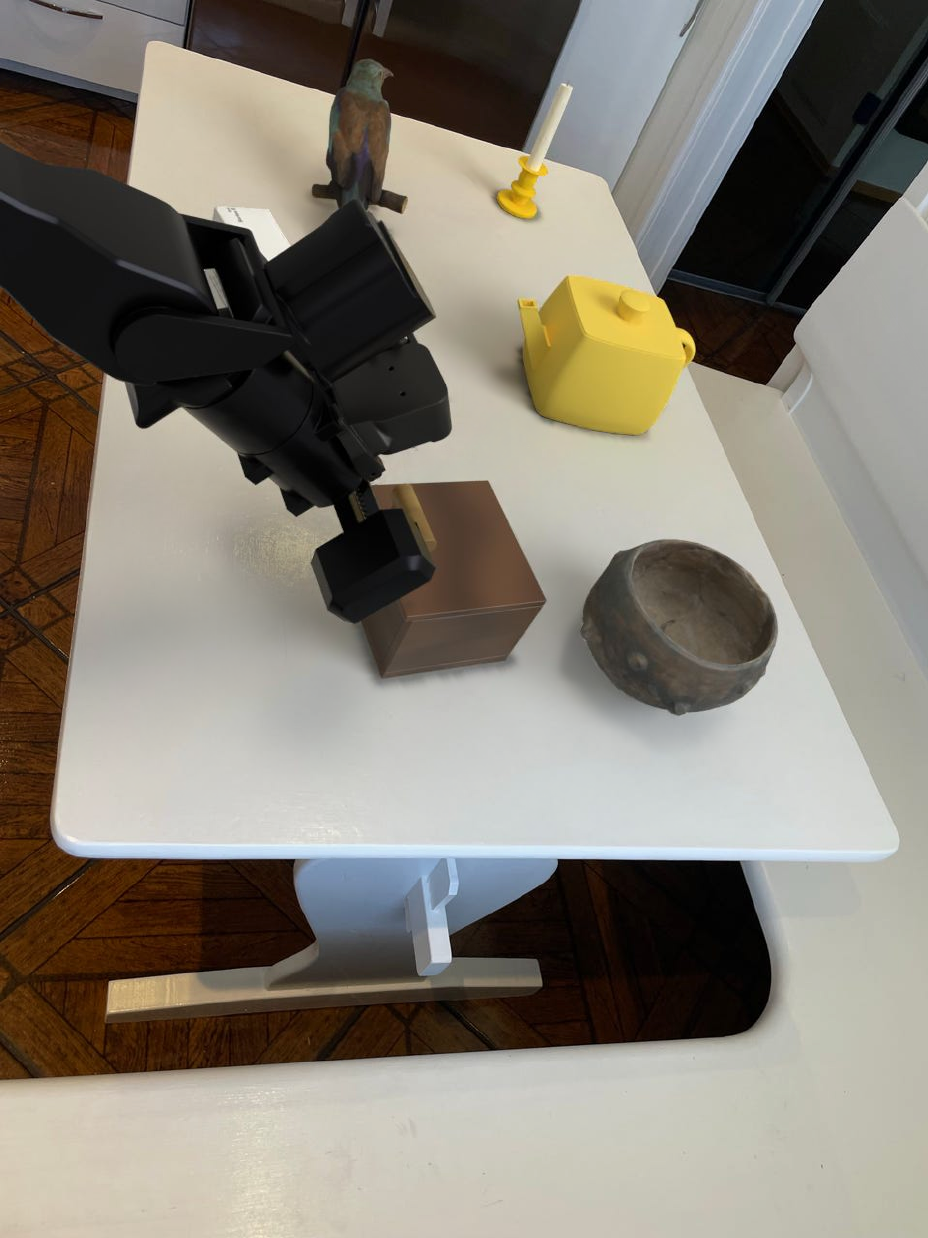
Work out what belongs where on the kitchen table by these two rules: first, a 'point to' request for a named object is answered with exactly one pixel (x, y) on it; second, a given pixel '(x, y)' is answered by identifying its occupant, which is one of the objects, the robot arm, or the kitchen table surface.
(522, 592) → the lid
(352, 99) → the bird figurine
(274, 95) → the kitchen table surface
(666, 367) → the teapot
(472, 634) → the chest
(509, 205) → the candle
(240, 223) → the ink box
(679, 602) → the bowl
